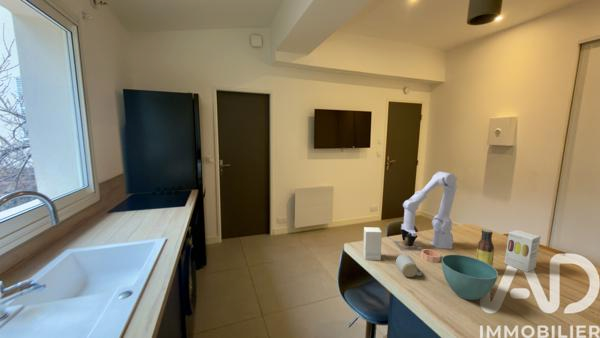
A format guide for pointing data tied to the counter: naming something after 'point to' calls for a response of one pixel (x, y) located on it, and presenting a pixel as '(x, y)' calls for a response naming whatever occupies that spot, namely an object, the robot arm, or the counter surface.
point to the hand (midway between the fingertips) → (407, 243)
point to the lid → (406, 244)
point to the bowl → (430, 255)
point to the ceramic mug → (407, 266)
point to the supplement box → (522, 250)
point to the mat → (407, 249)
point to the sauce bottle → (486, 247)
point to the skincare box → (372, 243)
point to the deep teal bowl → (468, 276)
